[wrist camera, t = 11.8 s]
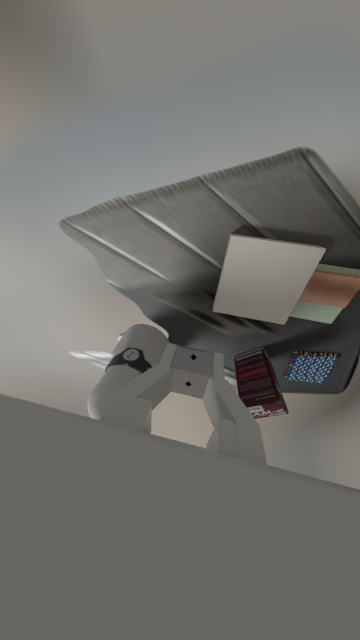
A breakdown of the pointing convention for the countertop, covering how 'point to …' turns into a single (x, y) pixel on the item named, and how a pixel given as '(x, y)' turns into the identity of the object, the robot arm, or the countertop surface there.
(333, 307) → the mat
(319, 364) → the woven mat
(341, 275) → the terracotta flat block
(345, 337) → the countertop surface
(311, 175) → the countertop surface
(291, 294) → the pale grey square slab
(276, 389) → the supplement box
